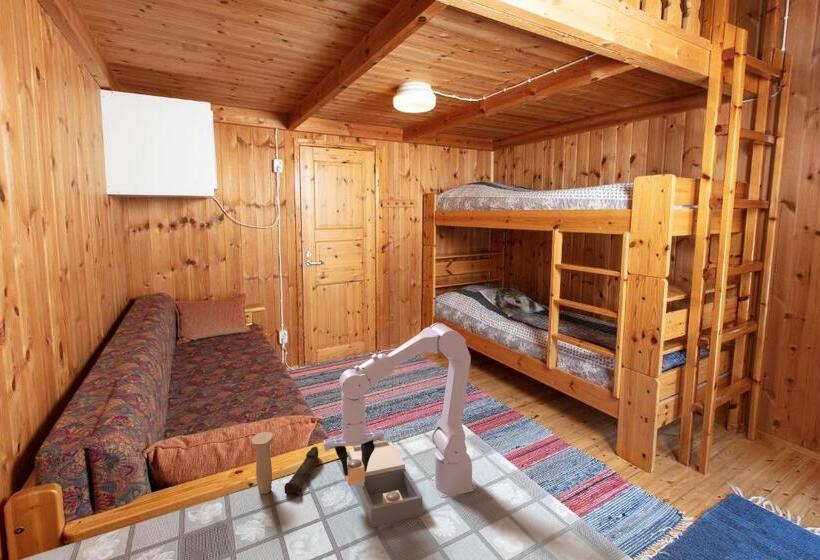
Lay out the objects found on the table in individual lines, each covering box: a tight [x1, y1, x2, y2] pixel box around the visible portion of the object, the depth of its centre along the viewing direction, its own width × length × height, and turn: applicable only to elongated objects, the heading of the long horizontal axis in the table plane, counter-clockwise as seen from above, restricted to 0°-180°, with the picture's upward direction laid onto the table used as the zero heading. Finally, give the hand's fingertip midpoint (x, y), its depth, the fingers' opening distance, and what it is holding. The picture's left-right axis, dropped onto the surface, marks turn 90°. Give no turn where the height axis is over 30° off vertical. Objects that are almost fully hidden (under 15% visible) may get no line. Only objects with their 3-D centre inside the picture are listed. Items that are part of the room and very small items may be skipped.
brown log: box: [283, 446, 319, 497], centre depth 119 cm, size 19×4×5 cm, turn 169°
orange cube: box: [344, 458, 365, 486], centre depth 105 cm, size 4×4×4 cm
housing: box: [347, 452, 423, 529], centre depth 112 cm, size 13×26×5 cm, turn 20°
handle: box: [251, 431, 274, 495], centre depth 111 cm, size 5×6×15 cm
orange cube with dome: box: [383, 490, 403, 504], centre depth 103 cm, size 4×4×4 cm
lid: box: [347, 439, 406, 477], centre depth 117 cm, size 13×13×2 cm
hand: (354, 471), depth 105 cm, fingers closed on orange cube, 4 cm apart
